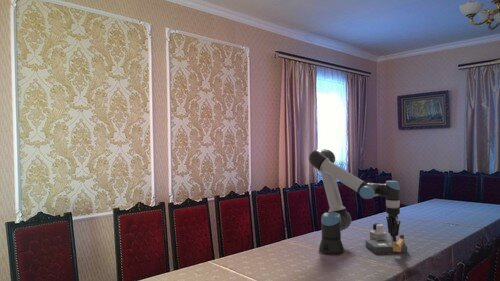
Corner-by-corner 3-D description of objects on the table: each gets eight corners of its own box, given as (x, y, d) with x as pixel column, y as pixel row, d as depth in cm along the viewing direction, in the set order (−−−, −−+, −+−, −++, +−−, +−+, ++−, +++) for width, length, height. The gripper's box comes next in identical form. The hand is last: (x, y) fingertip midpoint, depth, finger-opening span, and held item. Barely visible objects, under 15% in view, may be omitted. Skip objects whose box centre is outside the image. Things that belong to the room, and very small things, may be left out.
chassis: (375, 253, 209) (375, 246, 209) (365, 246, 224) (365, 240, 224) (408, 252, 210) (408, 245, 210) (396, 245, 225) (396, 238, 225)
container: (369, 242, 233) (369, 223, 233) (379, 241, 235) (378, 222, 236) (377, 245, 225) (377, 225, 226) (387, 244, 228) (386, 224, 228)
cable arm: (398, 242, 217) (398, 233, 217) (405, 243, 215) (405, 234, 215) (393, 251, 199) (392, 242, 199) (400, 252, 197) (400, 243, 197)
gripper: (404, 208, 199) (405, 249, 199) (393, 204, 212) (394, 243, 212) (392, 209, 198) (392, 250, 198) (381, 205, 211) (382, 243, 211)
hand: (393, 246), depth 205 cm, fingers closed
